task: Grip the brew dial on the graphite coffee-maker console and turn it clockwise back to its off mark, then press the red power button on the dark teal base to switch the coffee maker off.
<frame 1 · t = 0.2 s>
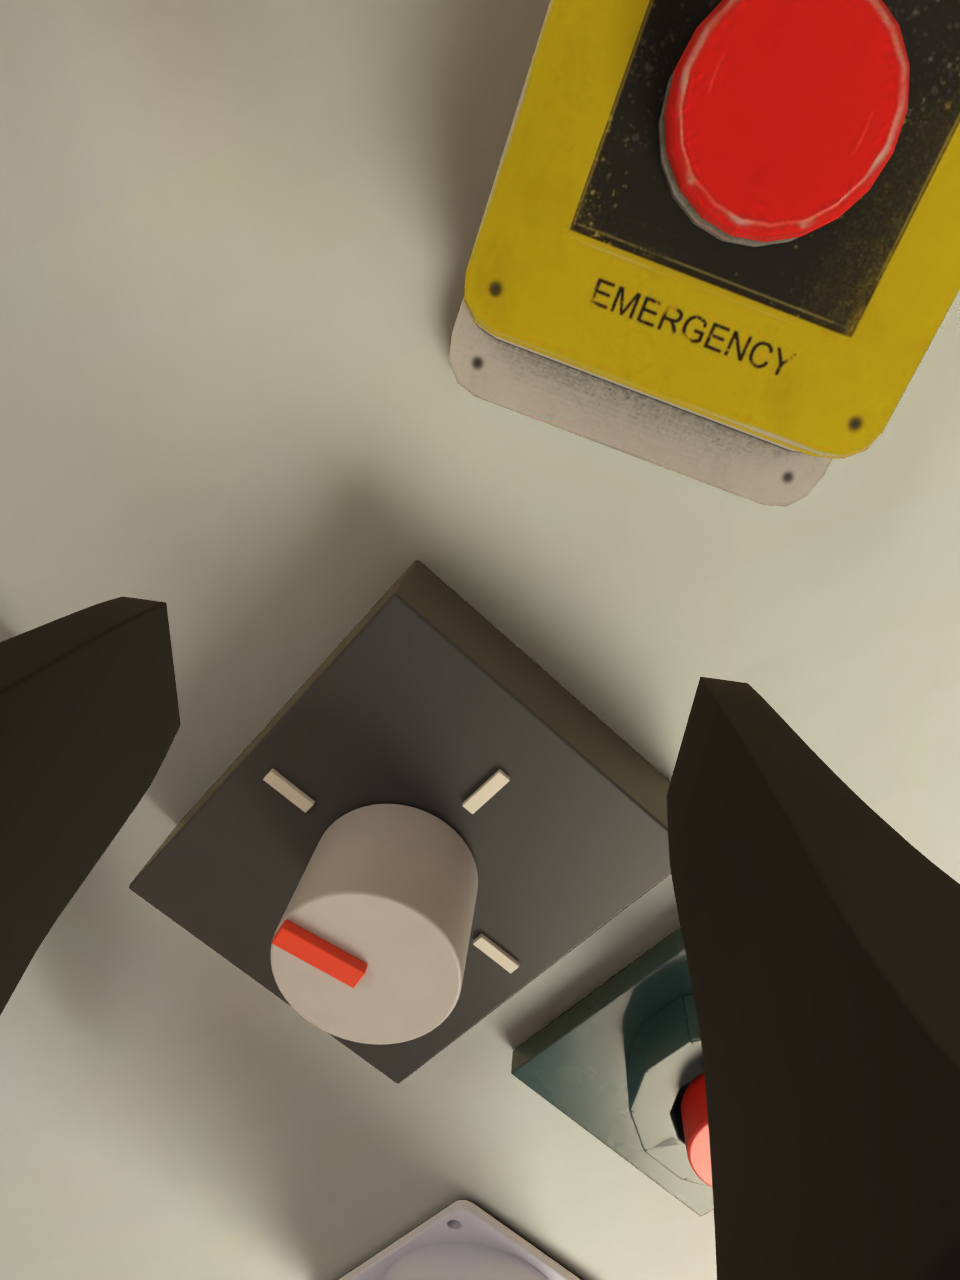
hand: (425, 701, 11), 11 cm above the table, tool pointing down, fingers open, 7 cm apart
power base: (727, 1044, 26), on the table
brew dial: (380, 923, 19), point 5 cm above the table, hinge at 100.0°
dial console: (416, 809, 24), on the table
emergency button: (757, 108, 17), on the table
power button: (746, 1130, 23), point 3 cm above the table, slide at 0.1 cm
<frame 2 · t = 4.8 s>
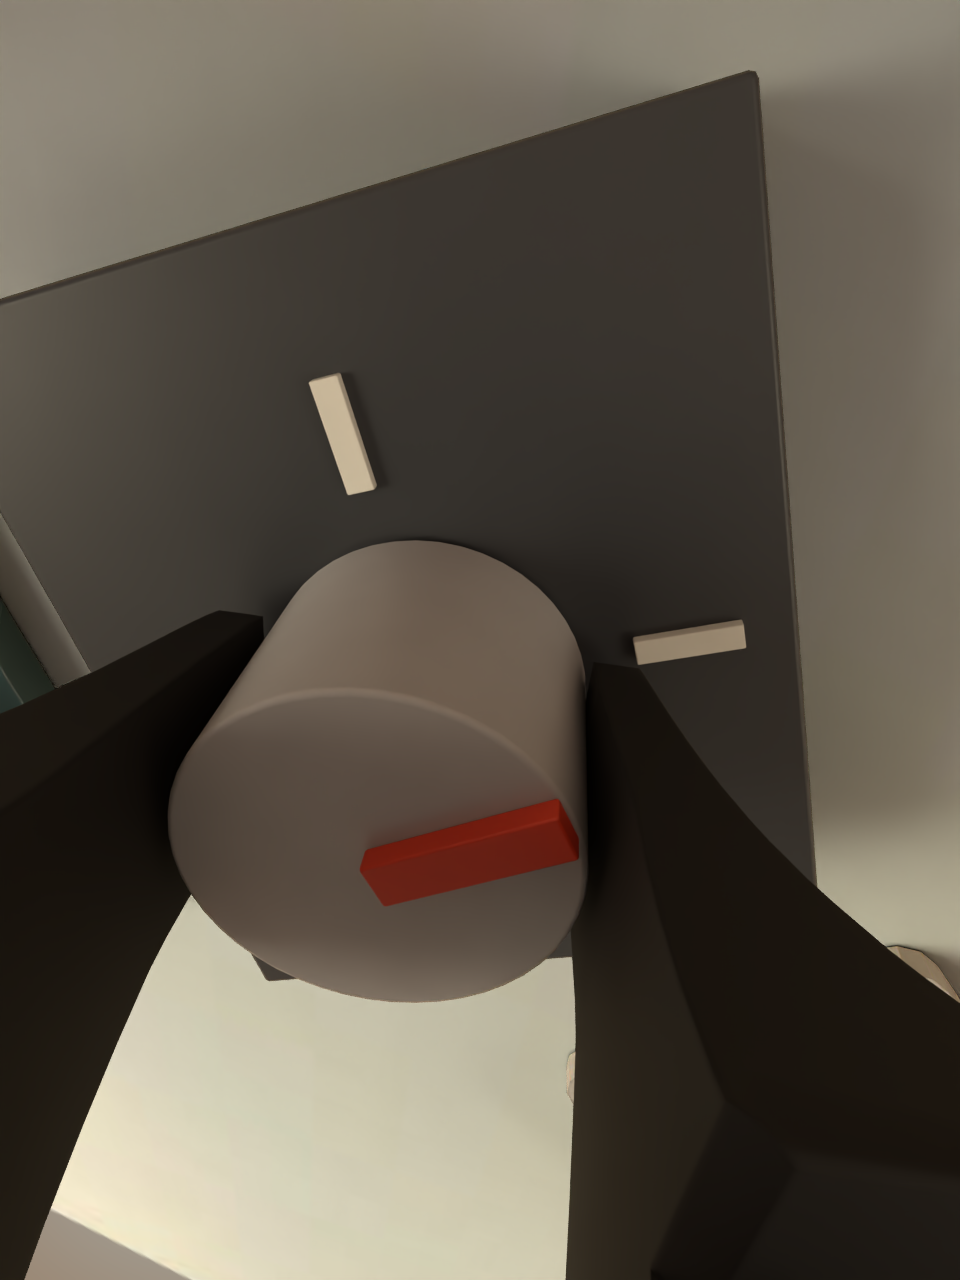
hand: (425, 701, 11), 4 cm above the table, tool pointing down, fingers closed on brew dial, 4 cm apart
brew dial: (402, 769, 10), point 5 cm above the table, hinge at 99.9°, touching gripper
dial console: (456, 587, 14), on the table
emergency button: (852, 1154, 21), on the table
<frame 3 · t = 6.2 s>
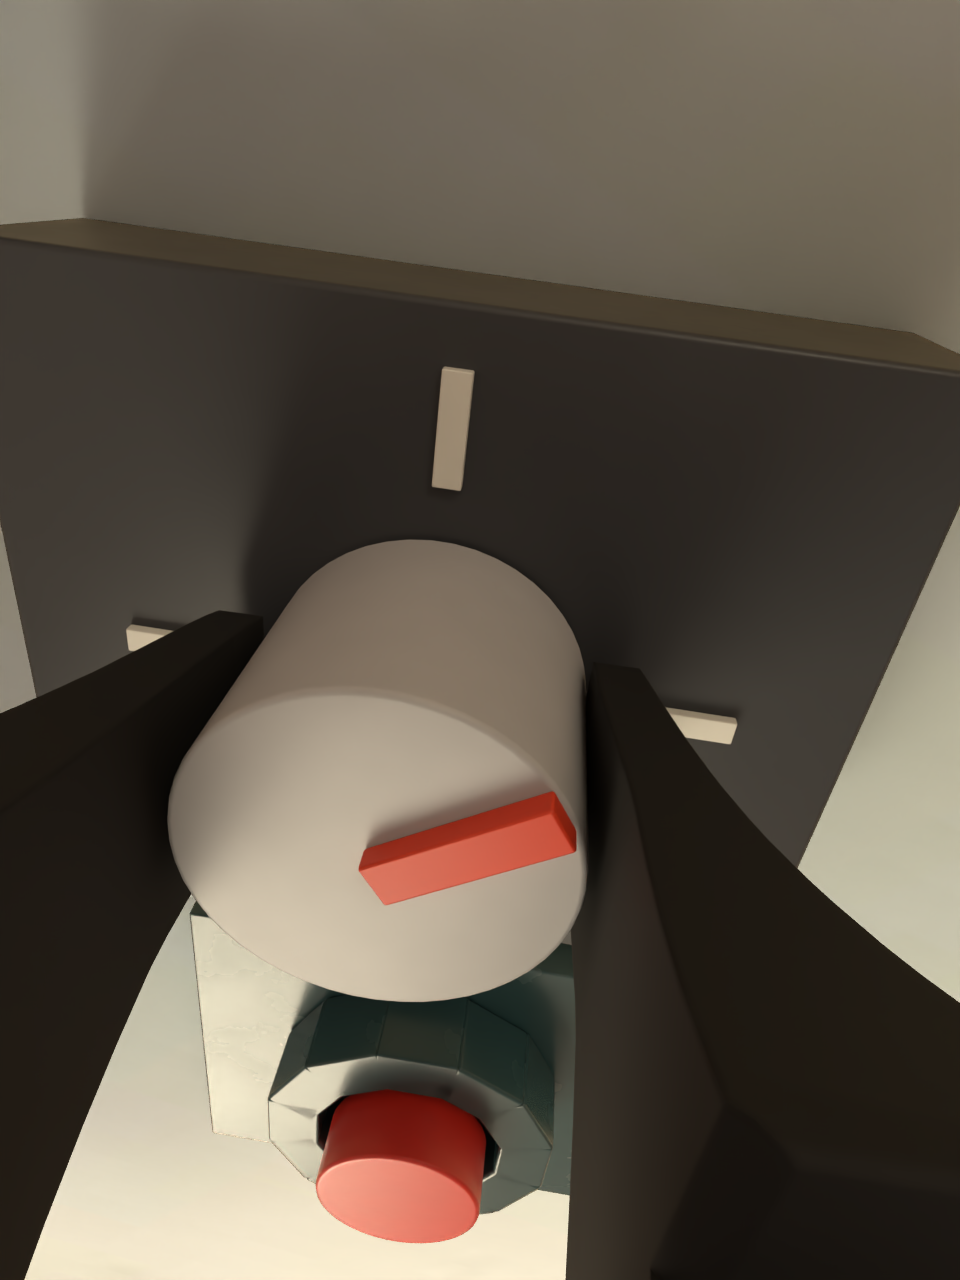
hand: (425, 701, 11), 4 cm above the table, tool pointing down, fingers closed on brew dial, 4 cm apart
power base: (425, 1039, 20), on the table
brew dial: (402, 768, 10), point 5 cm above the table, hinge at 33.1°, touching gripper
dial console: (456, 586, 14), on the table
power button: (403, 1165, 18), point 3 cm above the table, slide at 0.1 cm
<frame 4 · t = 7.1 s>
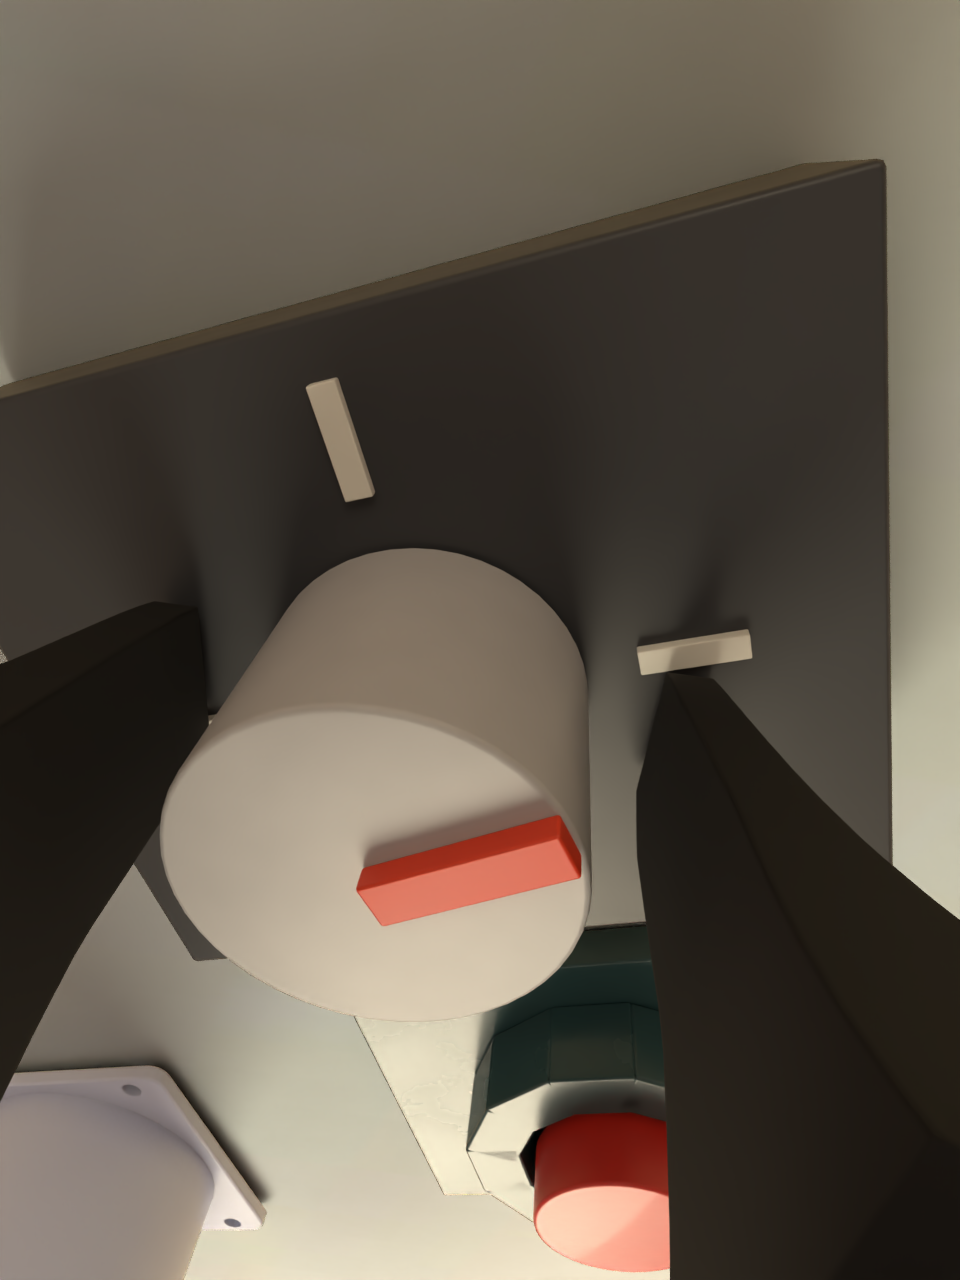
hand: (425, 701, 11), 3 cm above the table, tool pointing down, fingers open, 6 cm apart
power base: (613, 1055, 20), on the table
brew dial: (401, 782, 9), point 5 cm above the table, hinge at 10.7°
dial console: (456, 593, 14), on the table
power button: (619, 1190, 17), point 3 cm above the table, slide at 0.1 cm
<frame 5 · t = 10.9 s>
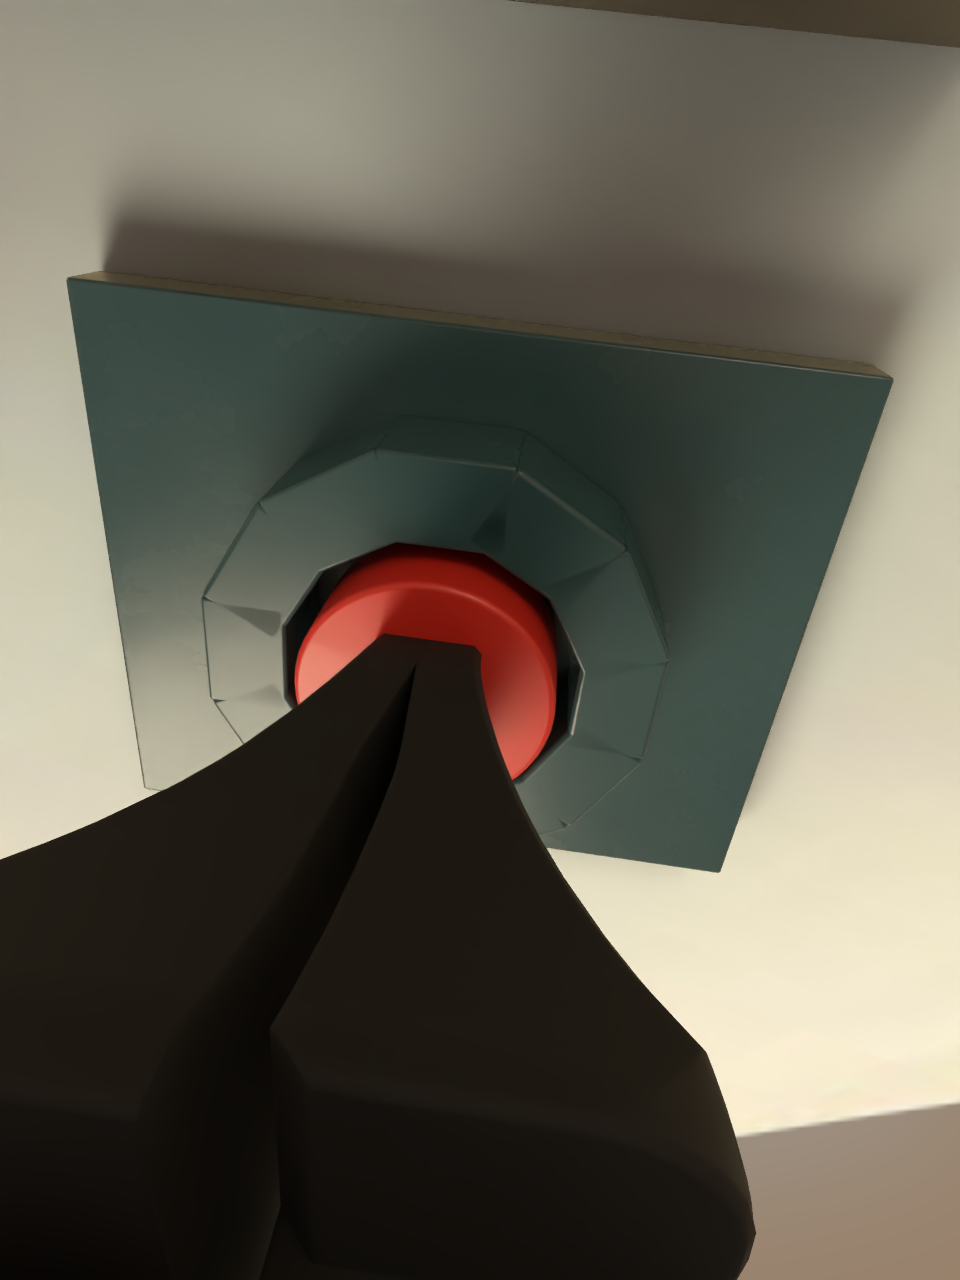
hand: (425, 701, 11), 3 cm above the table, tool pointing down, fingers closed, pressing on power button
power base: (453, 598, 13), on the table
power button: (431, 672, 11), point 2 cm above the table, slide at -0.5 cm, touching gripper
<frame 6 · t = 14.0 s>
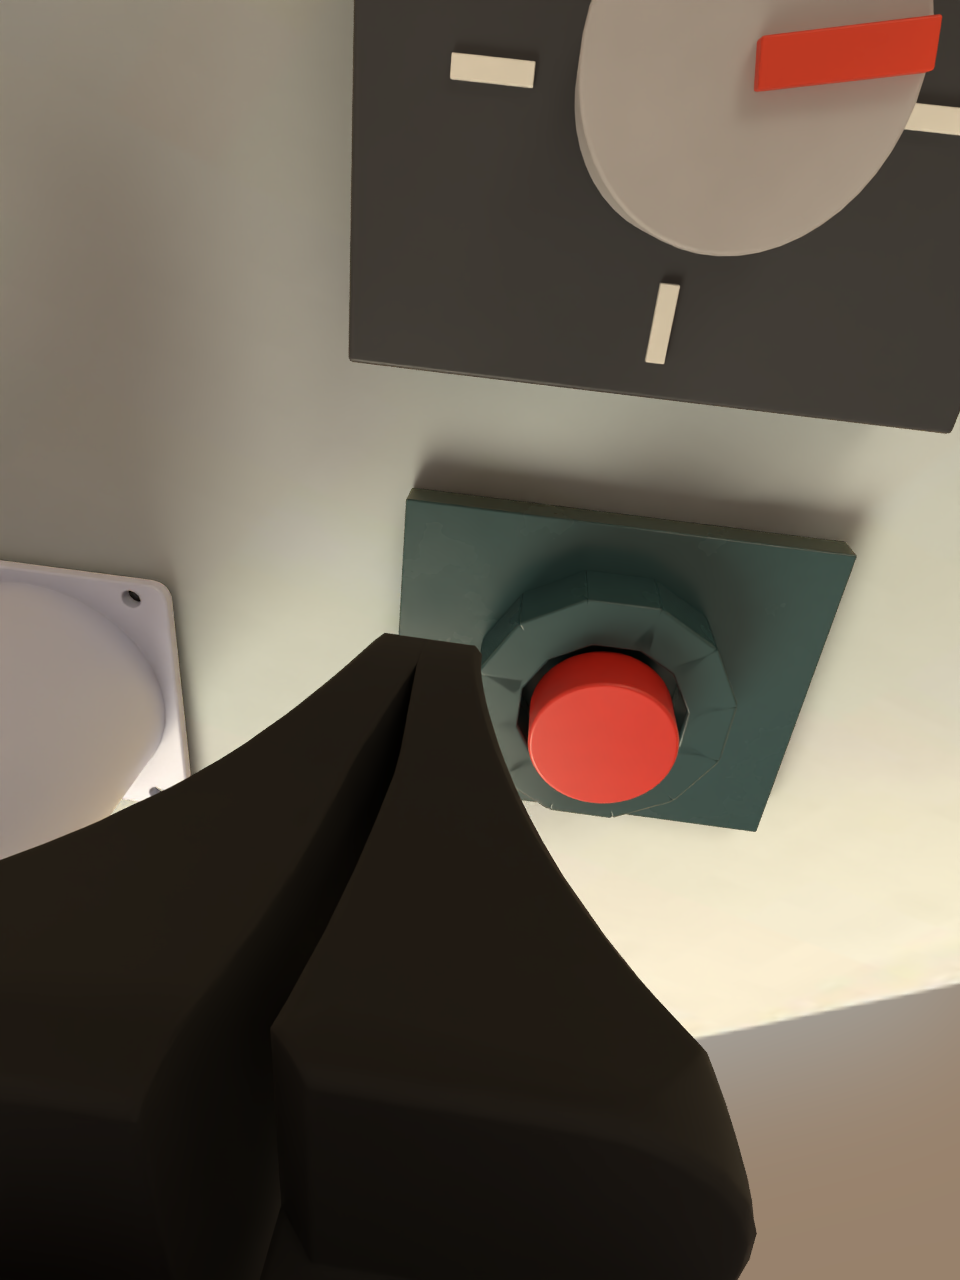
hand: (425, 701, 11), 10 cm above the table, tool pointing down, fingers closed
power base: (596, 664, 22), on the table
brew dial: (728, 81, 12), point 5 cm above the table, hinge at 10.7°
dial console: (683, 109, 16), on the table
power button: (601, 728, 20), point 3 cm above the table, slide at 0.1 cm
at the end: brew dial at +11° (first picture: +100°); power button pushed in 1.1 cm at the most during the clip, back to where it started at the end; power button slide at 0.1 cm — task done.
